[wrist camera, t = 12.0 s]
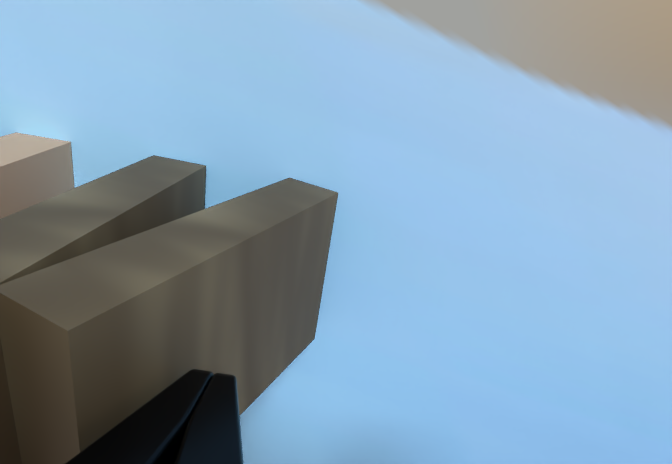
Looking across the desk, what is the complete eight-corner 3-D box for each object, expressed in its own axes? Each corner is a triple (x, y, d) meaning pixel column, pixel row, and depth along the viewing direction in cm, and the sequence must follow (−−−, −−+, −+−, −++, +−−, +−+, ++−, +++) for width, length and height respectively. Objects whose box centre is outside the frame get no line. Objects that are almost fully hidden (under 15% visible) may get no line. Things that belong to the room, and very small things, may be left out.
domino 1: (205, 165, 13) (-61, 317, 6) (200, 311, 15) (-4, 562, 8) (153, 155, 13) (-173, 290, 6) (154, 300, 15) (-88, 537, 8)
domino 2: (338, 192, 13) (67, 330, 6) (314, 338, 15) (91, 567, 8) (289, 177, 13) (-9, 287, 6) (272, 320, 15) (31, 518, 8)
